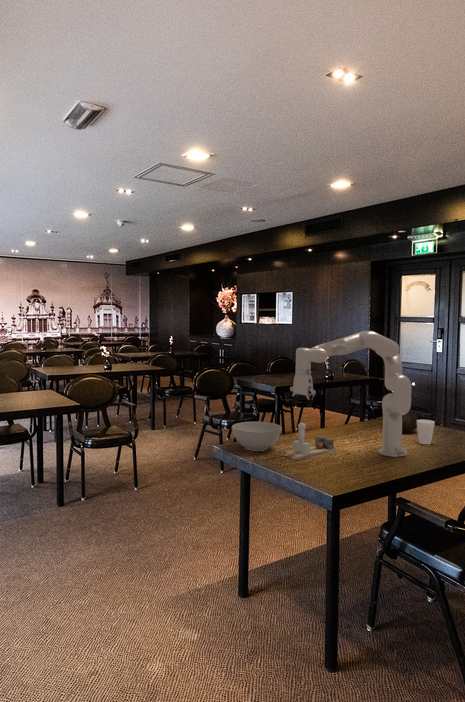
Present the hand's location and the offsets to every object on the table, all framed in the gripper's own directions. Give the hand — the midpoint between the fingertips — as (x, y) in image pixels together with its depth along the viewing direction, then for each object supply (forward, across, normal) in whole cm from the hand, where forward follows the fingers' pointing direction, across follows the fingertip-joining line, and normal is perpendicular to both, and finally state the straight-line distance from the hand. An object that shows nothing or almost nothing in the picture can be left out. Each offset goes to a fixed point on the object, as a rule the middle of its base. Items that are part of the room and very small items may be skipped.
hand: (302, 405), depth 251 cm
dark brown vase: (+26, +4, -93) cm, 97 cm away
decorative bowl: (+26, +24, +10) cm, 37 cm away
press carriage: (+24, 0, 0) cm, 24 cm away
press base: (+26, 0, -6) cm, 27 cm away
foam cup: (+26, -22, -76) cm, 83 cm away
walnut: (+24, 0, -13) cm, 27 cm away
